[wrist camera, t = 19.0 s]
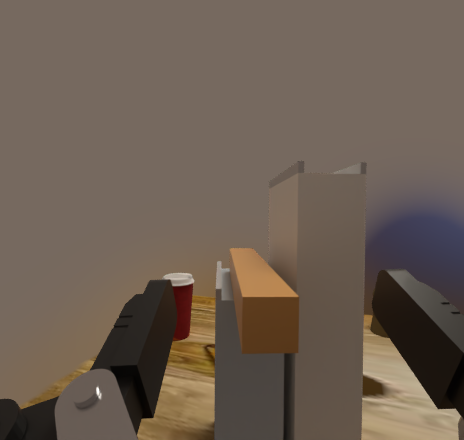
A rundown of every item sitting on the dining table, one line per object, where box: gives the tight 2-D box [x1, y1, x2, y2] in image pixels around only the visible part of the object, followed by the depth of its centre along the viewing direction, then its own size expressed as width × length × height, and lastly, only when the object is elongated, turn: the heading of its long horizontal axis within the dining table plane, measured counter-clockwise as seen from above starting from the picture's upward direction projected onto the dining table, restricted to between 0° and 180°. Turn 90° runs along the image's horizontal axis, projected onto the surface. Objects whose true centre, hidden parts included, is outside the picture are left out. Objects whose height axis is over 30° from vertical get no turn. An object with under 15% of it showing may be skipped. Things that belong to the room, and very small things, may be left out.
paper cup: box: [163, 273, 194, 341], centre depth 60 cm, size 8×8×14 cm
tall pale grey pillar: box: [268, 161, 366, 440], centre depth 29 cm, size 13×6×33 cm, turn 3°
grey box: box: [214, 261, 284, 440], centre depth 29 cm, size 13×6×22 cm, turn 3°
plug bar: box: [230, 248, 299, 354], centre depth 23 cm, size 20×3×3 cm, turn 2°
